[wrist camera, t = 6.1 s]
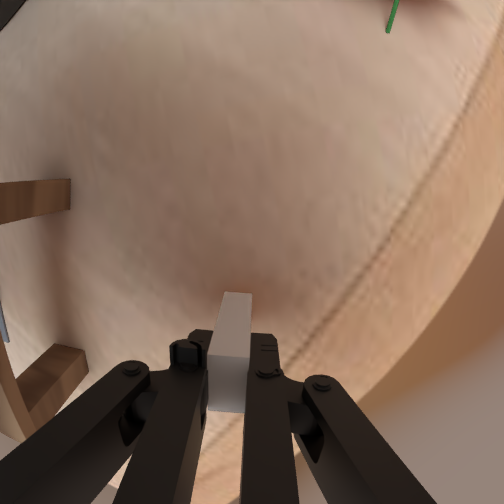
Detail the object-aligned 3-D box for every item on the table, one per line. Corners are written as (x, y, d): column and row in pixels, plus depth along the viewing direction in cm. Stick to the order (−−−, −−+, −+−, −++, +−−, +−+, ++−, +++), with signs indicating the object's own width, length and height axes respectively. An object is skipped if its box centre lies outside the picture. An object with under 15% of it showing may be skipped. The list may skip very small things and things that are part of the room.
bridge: (59, 364, 20) (-2, 431, 11) (38, 180, 17) (-63, 190, 8) (88, 372, 20) (30, 447, 11) (70, 179, 17) (-35, 186, 8)
